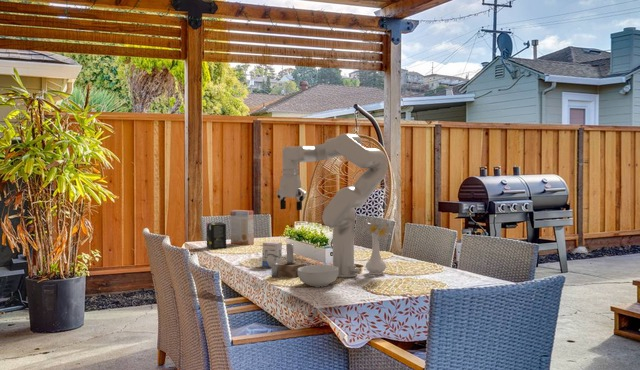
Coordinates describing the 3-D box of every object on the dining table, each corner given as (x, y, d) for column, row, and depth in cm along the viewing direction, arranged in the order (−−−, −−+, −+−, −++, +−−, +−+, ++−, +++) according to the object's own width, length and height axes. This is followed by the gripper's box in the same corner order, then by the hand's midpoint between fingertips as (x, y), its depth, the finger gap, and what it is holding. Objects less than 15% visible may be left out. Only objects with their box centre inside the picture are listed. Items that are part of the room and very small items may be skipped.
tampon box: (206, 247, 356) (205, 222, 355) (221, 246, 360) (221, 221, 359) (211, 249, 346) (210, 224, 345) (226, 248, 350) (226, 223, 349)
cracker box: (254, 244, 366) (253, 210, 365) (248, 245, 361) (247, 211, 360) (236, 242, 374) (236, 209, 373) (230, 243, 369) (229, 210, 368)
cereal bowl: (315, 279, 256) (315, 263, 256) (346, 284, 246) (346, 267, 246) (289, 286, 243) (289, 268, 243) (320, 291, 233) (320, 273, 232)
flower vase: (375, 278, 256) (374, 221, 255) (355, 271, 273) (354, 217, 272) (401, 276, 262) (400, 219, 260) (379, 269, 278) (379, 216, 277)
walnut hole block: (304, 274, 267) (304, 263, 266) (293, 277, 260) (293, 266, 260) (287, 272, 272) (287, 261, 272) (275, 275, 266) (275, 264, 266)
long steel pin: (290, 276, 264) (290, 244, 264) (285, 275, 266) (285, 244, 265) (295, 274, 267) (294, 243, 266) (289, 274, 268) (289, 243, 268)
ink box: (261, 266, 290) (261, 242, 289) (267, 264, 294) (267, 240, 293) (276, 267, 286) (276, 243, 285) (282, 265, 290) (282, 241, 289)
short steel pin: (279, 277, 262) (279, 263, 262) (275, 278, 260) (275, 264, 259) (274, 276, 264) (274, 262, 264) (270, 277, 261) (269, 263, 261)
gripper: (271, 173, 280) (271, 209, 281) (300, 173, 270) (300, 210, 271) (281, 172, 286) (282, 208, 287) (310, 172, 276) (310, 209, 277)
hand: (291, 209), depth 279 cm, fingers open, 9 cm apart
